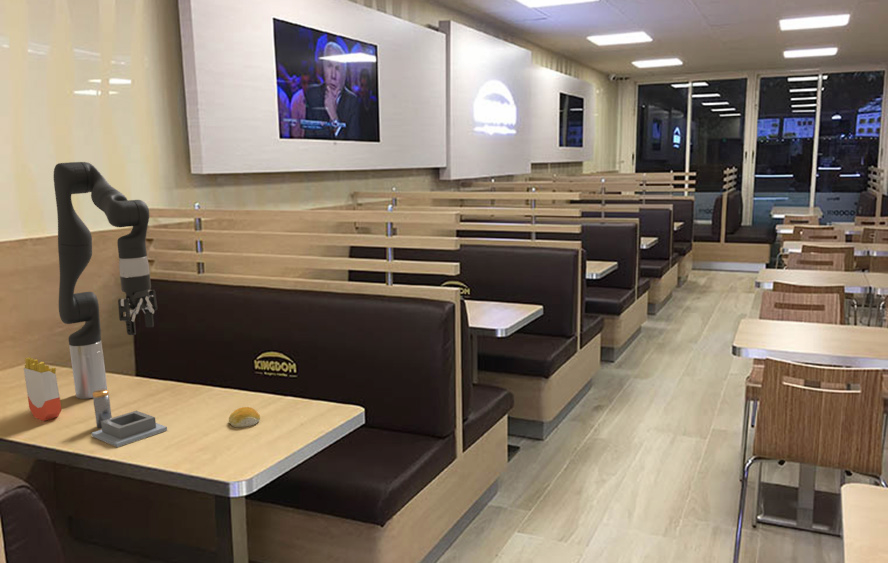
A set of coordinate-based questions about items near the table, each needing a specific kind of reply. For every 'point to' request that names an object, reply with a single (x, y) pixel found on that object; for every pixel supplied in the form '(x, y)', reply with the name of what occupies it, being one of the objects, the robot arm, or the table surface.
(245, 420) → the bread roll
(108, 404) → the cylinder
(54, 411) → the french fries container
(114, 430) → the socket
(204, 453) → the table surface
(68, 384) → the table surface
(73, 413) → the table surface
